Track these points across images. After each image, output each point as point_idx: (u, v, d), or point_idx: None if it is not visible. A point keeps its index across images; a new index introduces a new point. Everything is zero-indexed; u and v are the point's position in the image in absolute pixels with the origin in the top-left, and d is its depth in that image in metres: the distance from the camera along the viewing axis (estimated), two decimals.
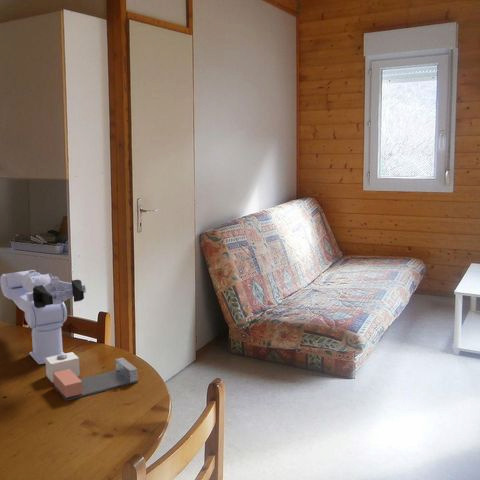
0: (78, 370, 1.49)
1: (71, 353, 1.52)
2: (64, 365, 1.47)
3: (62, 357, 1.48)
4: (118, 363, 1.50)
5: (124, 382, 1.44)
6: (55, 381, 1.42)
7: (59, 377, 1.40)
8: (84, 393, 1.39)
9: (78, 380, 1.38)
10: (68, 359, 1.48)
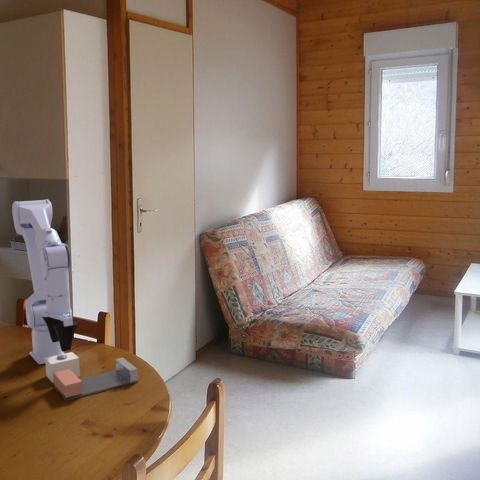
0: (78, 370, 1.49)
1: (71, 353, 1.52)
2: (64, 365, 1.47)
3: (62, 357, 1.48)
4: (118, 363, 1.50)
5: (124, 382, 1.44)
6: (55, 381, 1.42)
7: (59, 377, 1.40)
8: (84, 393, 1.39)
9: (78, 380, 1.38)
10: (68, 359, 1.48)
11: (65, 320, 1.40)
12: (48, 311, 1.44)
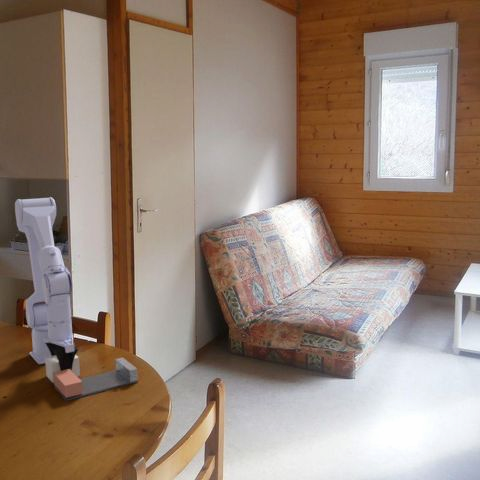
0: (78, 369, 1.49)
1: None
2: None
3: None
4: (118, 363, 1.50)
5: (124, 382, 1.44)
6: (55, 381, 1.42)
7: (59, 377, 1.40)
8: (84, 393, 1.39)
9: (78, 380, 1.38)
10: None
11: (67, 347, 1.42)
12: (50, 337, 1.46)
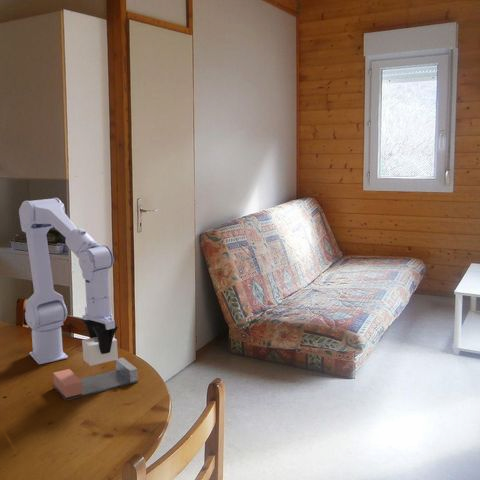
0: (116, 353, 1.44)
1: None
2: None
3: None
4: (118, 363, 1.50)
5: (124, 382, 1.44)
6: (55, 381, 1.42)
7: (59, 377, 1.40)
8: (84, 393, 1.39)
9: (78, 380, 1.38)
10: None
11: (107, 323, 1.37)
12: (89, 314, 1.41)
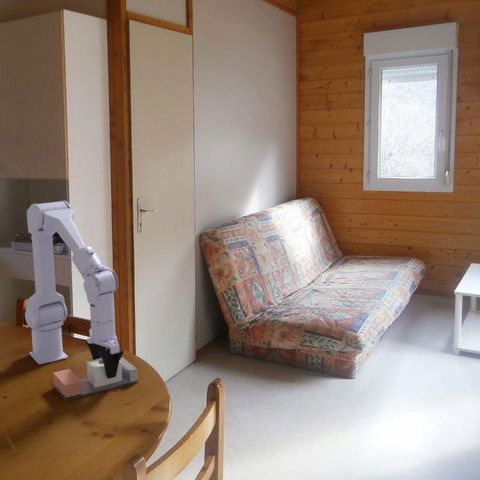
0: (120, 374, 1.45)
1: None
2: None
3: None
4: None
5: (124, 382, 1.44)
6: (55, 381, 1.42)
7: (59, 377, 1.40)
8: (84, 393, 1.39)
9: (78, 380, 1.38)
10: None
11: (112, 347, 1.37)
12: (93, 337, 1.42)
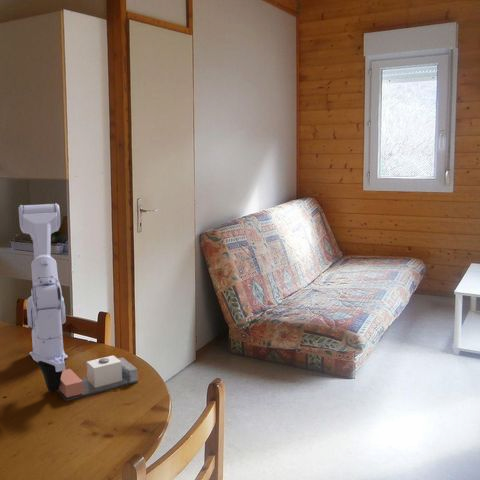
0: (120, 374, 1.45)
1: (112, 356, 1.48)
2: (106, 369, 1.43)
3: (104, 360, 1.44)
4: None
5: (124, 382, 1.44)
6: None
7: None
8: (84, 393, 1.39)
9: (78, 380, 1.38)
10: (110, 363, 1.44)
11: (57, 365, 1.30)
12: (39, 354, 1.35)
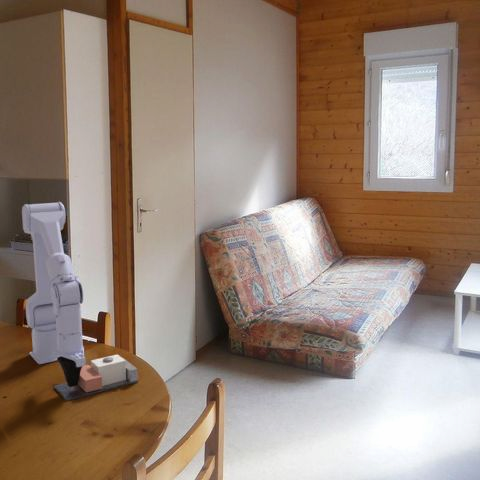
0: (124, 373, 1.46)
1: (116, 355, 1.48)
2: (110, 368, 1.43)
3: (108, 359, 1.45)
4: None
5: (124, 382, 1.44)
6: None
7: None
8: (84, 393, 1.39)
9: (97, 375, 1.40)
10: (115, 362, 1.44)
11: (77, 360, 1.33)
12: (59, 350, 1.37)
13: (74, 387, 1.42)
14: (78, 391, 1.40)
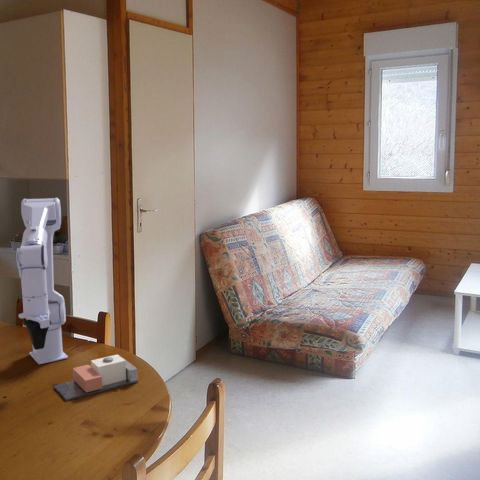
0: (124, 373, 1.46)
1: (116, 355, 1.48)
2: (110, 368, 1.43)
3: (108, 359, 1.45)
4: None
5: (124, 382, 1.44)
6: (75, 376, 1.44)
7: (79, 372, 1.42)
8: (84, 393, 1.39)
9: (97, 375, 1.40)
10: (115, 362, 1.44)
11: (42, 322, 1.35)
12: (25, 312, 1.39)
13: (74, 387, 1.42)
14: (78, 391, 1.40)
